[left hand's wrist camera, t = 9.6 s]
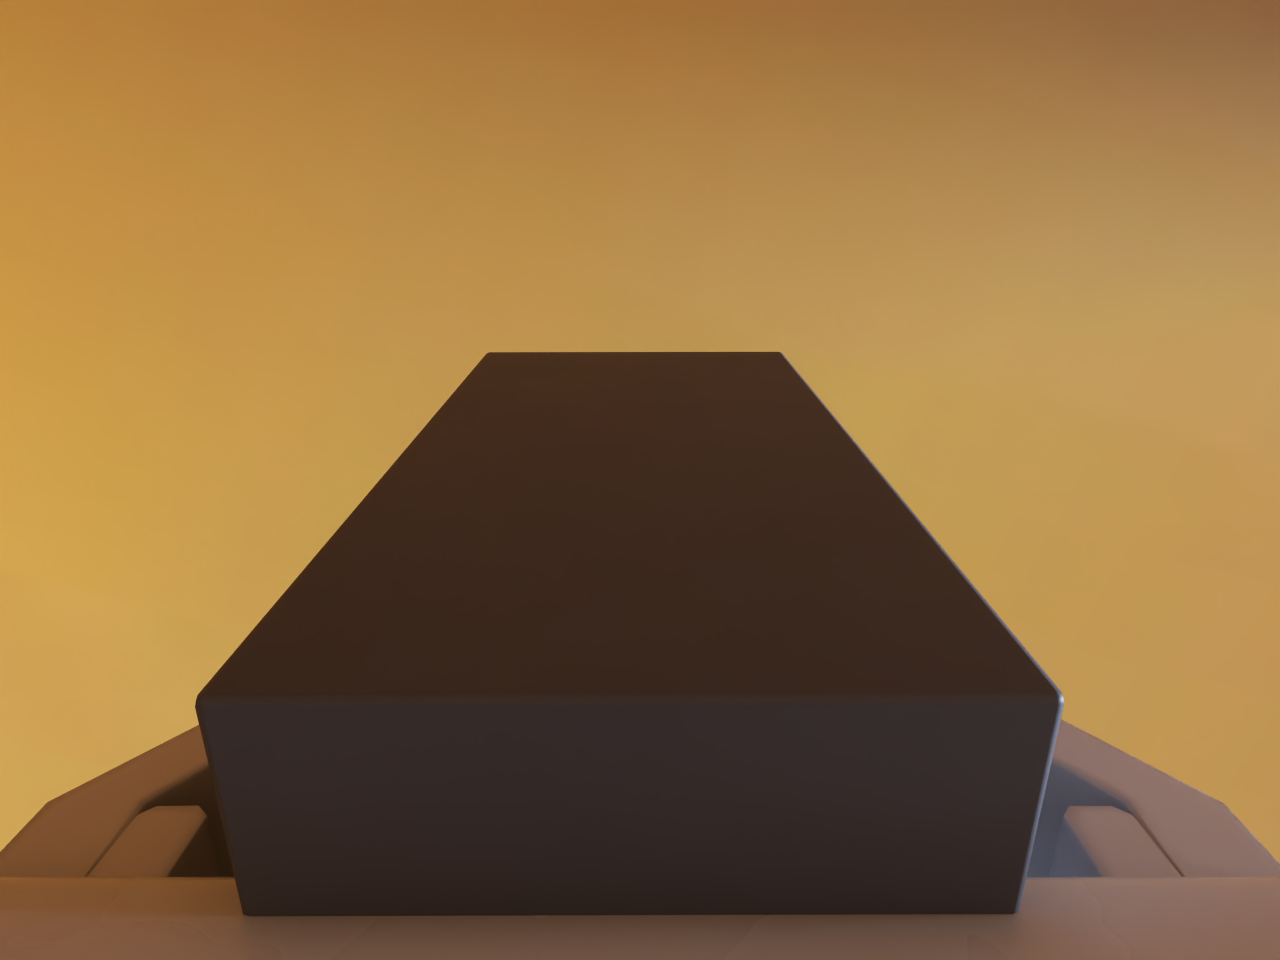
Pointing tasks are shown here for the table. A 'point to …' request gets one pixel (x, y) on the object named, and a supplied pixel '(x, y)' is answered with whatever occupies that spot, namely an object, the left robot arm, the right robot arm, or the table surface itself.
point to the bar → (630, 671)
